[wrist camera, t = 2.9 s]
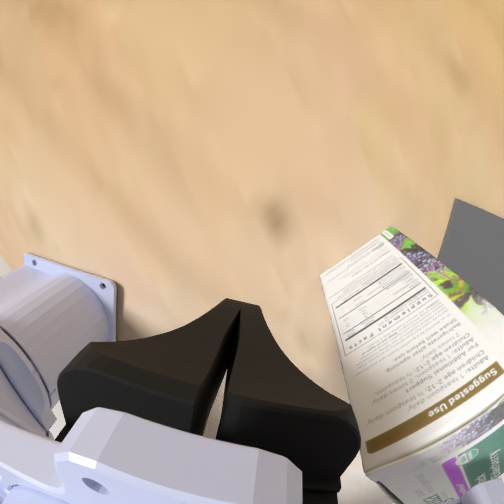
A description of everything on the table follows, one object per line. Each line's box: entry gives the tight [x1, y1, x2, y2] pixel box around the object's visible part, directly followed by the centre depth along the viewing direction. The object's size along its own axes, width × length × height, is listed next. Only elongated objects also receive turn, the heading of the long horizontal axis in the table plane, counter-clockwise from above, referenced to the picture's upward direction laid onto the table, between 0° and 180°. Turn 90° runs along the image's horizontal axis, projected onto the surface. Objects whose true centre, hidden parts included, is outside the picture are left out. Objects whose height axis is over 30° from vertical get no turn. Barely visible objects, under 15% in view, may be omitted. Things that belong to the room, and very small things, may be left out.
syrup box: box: [320, 226, 504, 504], centre depth 12 cm, size 6×6×14 cm
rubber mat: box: [437, 198, 504, 315], centre depth 19 cm, size 16×14×1 cm
